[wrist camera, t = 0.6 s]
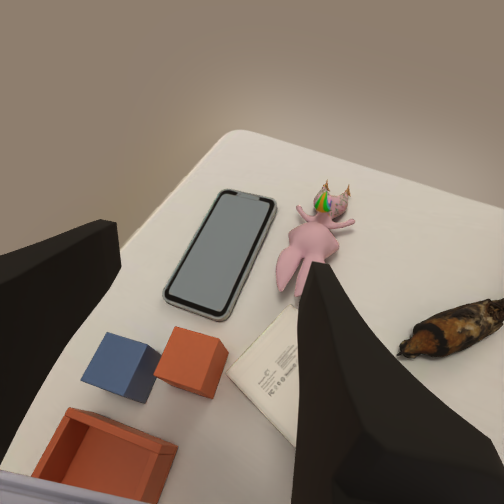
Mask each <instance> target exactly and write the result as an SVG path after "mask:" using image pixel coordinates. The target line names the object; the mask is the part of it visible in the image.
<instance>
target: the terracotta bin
mask: <svg viewBox="0 0 504 504" xmlns="http://www.w3.org/2000/svg"><path fill="white" fill-rule="evenodd" d="M177 449H178V446H177V445H174V444H172V443H169V442H167V441H164V440H162V439H159V438H157V437H154V436H152V435H149V434H147V433H144V432H142V431H139V430H137V429H134V428H132V427H129V426H127V425H124V424H122V423H119V422H117V421H114V420H111V419H109V418H106V417H104V416H101V415H99V414H96V413H94V412H89V411H85V410H80V409H75V408H71V407H69V408H68V409H67V411H66V413H65V416H64V417H63V419H62V420H61V422H60V424H59V426H58V428H57V430H56V431H55V433H54V435H53V437H52V439H51V441H50V442H49V444H48V446H47V448H46V450H45V451H44V453H43V455H42V457H41V459H40V461H39V462H38V464H37V466H36V468H35V470H34V472H33V473H32V475H31V477H35V478H39V479H44V480H48V481H52V482H57V483H61V484H66V485H70V486H75V487H79V488H83V489H88V490H92V491H97V492H101V493H106V494H110V495H115V496H119V497H123V498H128V499H132V500H137V501H141V502H146V503H150V504H157V503H158V500H159V497H160V495H161V492H162V489H163V487H164V484H165V481H166V478H167V476H168V473H169V470H170V468H171V465H172V462H173V459H174V457H175V454H176V451H177Z"/></svg>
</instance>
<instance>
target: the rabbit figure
mask: <svg viewBox="0 0 504 504" xmlns="http://www.w3.org/2000/svg"><path fill="white" fill-rule="evenodd" d="M327 181H328V179H327ZM327 191H330V190H329V188H328V183H327V182H326V184H325V185H323V187H322V189H321V190H320V191H319V193H318V194H317V196H316V197H315V198H314V207H315V209H316V211H317V214H316V215H315V216H309V215H307V214H306V213H305V212H304V211H303V210H302V207H301V206H300V205H298V206H296V209H297V211H298V212H299V214H300V215H301V216H302V217H303V218H304V219H305V220H306V221H307V223H304V224H302V225H300V226H298V227H296V228H294V229H292V230H291V231H290V232H289V243H290V246H289V247H287V248H285V249H284V250H283V251H282V252H281V253H280V255H279V258H278V261H277V265H276V280H277V287H278V289H279V291H280V292H282V291H283V289H284V288H285V286H286V285H287V283H288V282H289V281H290V279H291V278H292V276H293V274H294V273H295V271H296V269H297V267H298V265H299V263H300V261H301V260H303V263H302V266H301V268H300V271H299V273H298V276H297V280H296V287H295V293H294V296H295V297H298V296H300V295H301V294H302V291H303V288H304V285H305V282H306V279H307V275H308V272H309V269H310V266H311V262H312V261H315V262H320V263H325V261H324V259H326V258H327V257H329V256H330V255H332V254H333V253H334V252H336V251H337V250H338V249H339V243H338V242H337V240H336V238H335V237H334V236H333V234H332V233H331V232H330V231H329V229H337V228H343V227H346V226H349V225H352V224H354V223H355V220H354V219H350V220H348V221H346V222H342V223H335V222H333V221H332V219H333V218H335V217H337V216H339V215H341V214H343V213H344V212H345V210H346V208H347V206H348V195H349V196H350V191H349V185H348V188H347V190H346V191H345V192H344V193H342V194H341V195H339V196H331V195H329V194H328V192H327ZM350 197H351V196H350Z"/></svg>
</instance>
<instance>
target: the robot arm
mask: <svg viewBox="0 0 504 504" xmlns="http://www.w3.org/2000/svg"><path fill="white" fill-rule="evenodd" d="M120 269H121V258H120V250H119V241H118V232H117V223H116V222H112V221H106V220H101V219H100V220H96V221H93V222H90V223H87V224H85V225H82V226H79V227H77V228H74V229H72V230H69V231H67V232H64V233H62V234H59V235H57V236H54V237H52V238H49V239H46V240H44V241H41V242H38V243H36V244H33V245H30V246H27V247H24V248H21V249H19V250H16V251H13V252H10V253H7V254H4V255H0V465H1V462H2V460H3V458H4V456H5V454H6V452H7V450H8V448H9V446H10V444H11V442H12V440H13V438H14V436H15V434H16V432H17V430H18V428H19V426H20V424H21V422H22V421H23V419H24V417H25V415H26V413H27V411H28V409H29V408H30V406H31V404H32V402H33V400H34V398H35V396H36V395H37V393H38V391H39V390H40V388H41V386H42V384H43V383H44V381H45V379H46V377H47V376H48V374H49V372H50V371H51V369H52V367H53V366H54V364H55V363H56V361H57V359H58V358H59V356H60V354H61V353H62V351H63V350H64V348H65V346H66V345H67V344H68V342H69V341H70V339H71V338H72V337H73V335H74V334H75V333H76V331H77V330H78V329H79V328H80V326H81V325H82V324H83V322H84V321H85V320H86V319H87V317H88V316H89V315H90V313H91V312H92V311H93V310H94V308H95V307H96V306H97V304H98V303H99V302H100V301H101V299H102V298H103V297H104V295H105V294H106V293H107V291H108V290H109V288H110V287H111V285H112V283H113V282H114V280H115V278H116V276H117V274H118V273H119V271H120ZM297 344H298V368H299V406H298V423H297V437H296V451H295V464H294V476H293V488H292V498H291V504H504V466H503V463H502V461H501V459H500V457H499V455H498V453H497V451H496V449H495V447H494V445H493V443H492V441H491V439H489V438H488V437H487V436H485V435H484V434H483V433H482V432H480V431H479V430H478V429H476V428H475V427H474V426H472V425H471V424H470V423H469V422H467V421H466V420H465V419H463V418H462V417H461V416H460V415H458V414H457V413H456V412H454V411H453V410H452V409H451V408H449V407H448V406H447V405H446V404H445V403H443V402H442V401H441V400H440V399H439V398H438V397H436V396H435V395H434V394H433V393H432V392H431V391H429V390H428V389H427V388H426V387H425V386H424V385H423V384H422V383H421V382H420V381H418V380H417V379H416V378H415V377H414V376H413V375H412V374H411V373H410V372H409V371H408V370H407V369H406V368H405V367H404V366H403V365H402V364H401V363H400V362H399V361H398V360H397V359H396V358H395V357H394V356H393V355H392V354H391V353H390V351H389V350H388V349H387V348H386V347H385V346H384V345H383V343H382V342H381V341H380V340H379V339H378V338H377V337H376V335H375V334H374V333H373V332H372V330H371V329H370V328H369V327H368V325H367V324H366V322H365V321H364V320H363V318H362V317H361V316H360V314H359V313H358V311H357V310H356V308H355V307H354V305H353V304H352V302H351V301H350V299H349V297H348V296H347V294H346V293H345V291H344V289H343V288H342V286H341V284H340V282H339V281H338V279H337V277H336V275H335V274H334V272H333V270H332V268H331V267H330V265H329V264H325V263H320V262H315V261H312V262H311V266H310V269H309V272H308V275H307V279H306V282H305V285H304V288H303V291H302V295H301V298H300V301H299V308H298V320H297ZM0 504H150V503H146V502H141V501H137V500H132V499H128V498H123V497H119V496H115V495H110V494H106V493H101V492H97V491H92V490H88V489H83V488H79V487H75V486H70V485H66V484H61V483H57V482H52V481H48V480H44V479H39V478H35V477H30V476H26V475H21V474H17V473H12V472H8V471H4V470H0Z"/></svg>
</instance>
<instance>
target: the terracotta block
mask: <svg viewBox="0 0 504 504" xmlns="http://www.w3.org/2000/svg"><path fill="white" fill-rule="evenodd" d="M228 354H229V352H228V351H227V349H226V348H225V347H224V345H223V344H222V342H221V341H220V339H218V338H215V337H211V336H208V335H204V334H201V333H197V332H194V331H190V330H187V329H183V328H180V327H176V326H175V327H174V329H173V332H172V334H171V336H170V338H169V341H168V343H167V345H166V347H165V350H164V352H163V354H162V356H161V359H160V361H159V363H158V365H157V368H156V370H155V372H154V374H153V375H154V376H155V377H157V378H159V379H161V380H163V381H164V382H166V383H168V384H170V385H172V386H175V387H178V388H181V389H184V390H187V391H190V392H193V393H195V394H198V395H201V396H204V397H207V398H210V399H213V397H214V394H215V391H216V389H217V386H218V383H219V380H220V377H221V374H222V371H223V368H224V365H225V362H226V360H227V357H228Z"/></svg>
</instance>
